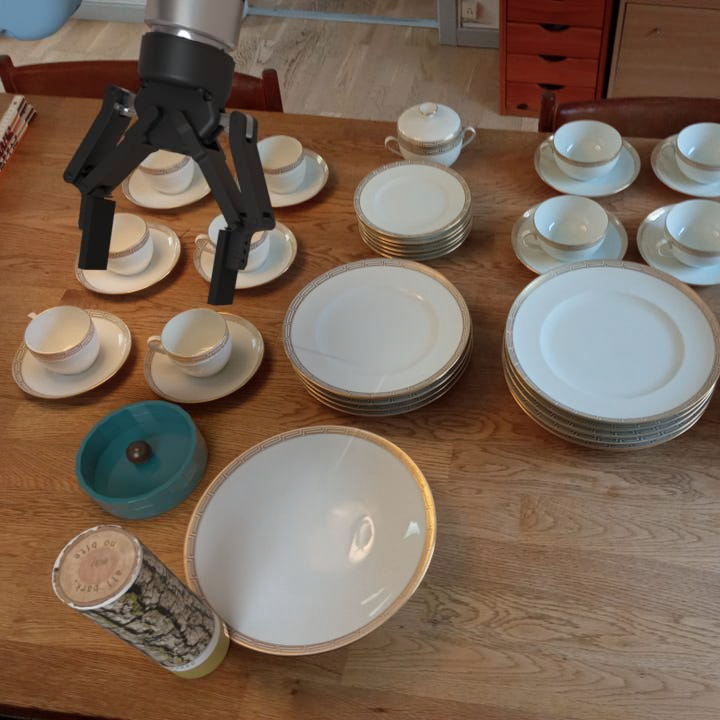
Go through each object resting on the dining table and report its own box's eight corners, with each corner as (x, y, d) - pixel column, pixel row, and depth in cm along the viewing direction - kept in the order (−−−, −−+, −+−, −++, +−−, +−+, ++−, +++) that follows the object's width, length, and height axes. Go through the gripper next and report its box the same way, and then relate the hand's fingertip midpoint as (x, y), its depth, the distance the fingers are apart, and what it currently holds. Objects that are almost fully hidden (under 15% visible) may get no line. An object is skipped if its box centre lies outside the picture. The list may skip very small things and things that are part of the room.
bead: (143, 444, 89) (161, 451, 91) (131, 432, 91) (149, 440, 93) (128, 464, 88) (146, 471, 91) (116, 453, 90) (134, 460, 93)
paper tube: (230, 674, 77) (134, 600, 57) (164, 685, 76) (44, 614, 56) (233, 610, 81) (144, 518, 60) (170, 620, 80) (60, 531, 60)
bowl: (67, 499, 90) (49, 482, 86) (136, 407, 98) (123, 388, 94) (166, 534, 87) (151, 518, 83) (229, 436, 95) (218, 417, 91)
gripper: (341, 79, 63) (298, 317, 67) (102, 34, 69) (73, 256, 72) (299, 54, 56) (252, 322, 60) (35, 5, 61) (7, 254, 65)
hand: (154, 286), depth 66 cm, fingers open, 13 cm apart
